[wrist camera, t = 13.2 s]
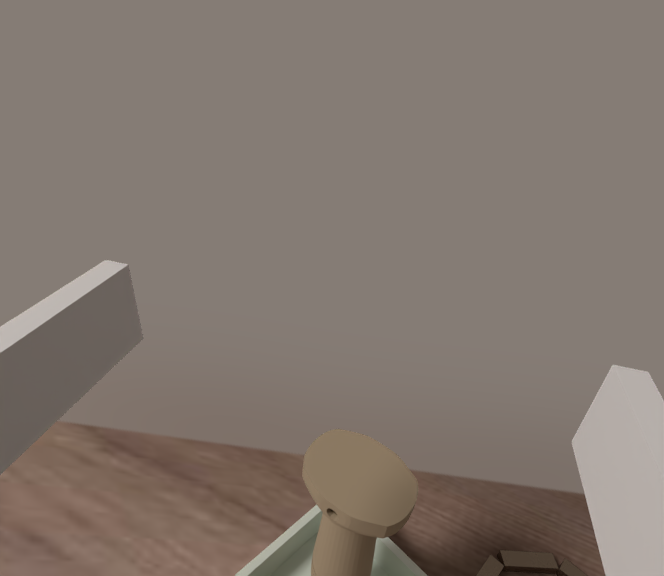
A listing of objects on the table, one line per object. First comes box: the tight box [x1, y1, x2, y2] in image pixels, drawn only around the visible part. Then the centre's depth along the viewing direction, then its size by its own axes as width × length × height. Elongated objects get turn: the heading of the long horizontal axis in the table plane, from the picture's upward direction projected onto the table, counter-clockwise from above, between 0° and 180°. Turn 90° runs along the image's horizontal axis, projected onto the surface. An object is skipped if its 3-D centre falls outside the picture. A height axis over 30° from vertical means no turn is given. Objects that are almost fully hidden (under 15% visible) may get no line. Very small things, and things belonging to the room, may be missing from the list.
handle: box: [302, 429, 418, 576], centre depth 28 cm, size 5×6×15 cm
